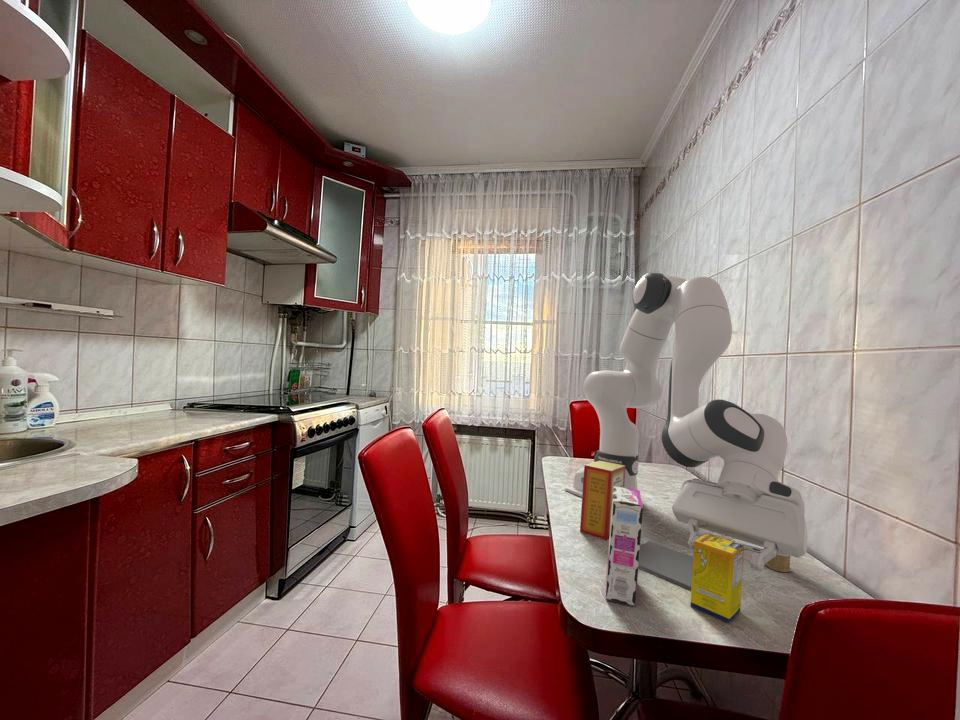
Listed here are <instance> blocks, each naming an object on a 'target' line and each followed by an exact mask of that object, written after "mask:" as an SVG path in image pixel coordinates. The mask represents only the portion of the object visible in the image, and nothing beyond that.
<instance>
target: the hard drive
mask: <svg viewBox="0 0 960 720" xmlns="http://www.w3.org/2000/svg"><path fill="white" fill-rule="evenodd" d="M734 539H735V538H734ZM734 542H736V543H740V544H743V545H744V550H747V549H748V551H753V552H756V553H759V554H760V553H762V552H763V551H764V550H765V549H764V547H761V546H758V545H754V544H751V543H748V542H745V541H741V540H738V539H735V540H734Z"/></svg>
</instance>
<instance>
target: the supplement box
mask: <svg viewBox="0 0 960 720" xmlns="http://www.w3.org/2000/svg"><path fill="white" fill-rule="evenodd" d="M699 537H700V538H698V539H697V540H695V541H694V548H693V556H692V557H693V570H692V587H691V590H690V607H691V608H692V609H694V610H696V611H699V612H702V613H703V614H706V615H708V616H711V617H712V618H715V619H717V620H718V621H722V622H724V623H727V624H730V623H731V622H732V621H734V619H735V618H736V616H738V614H739V613H740V612H741V605H742V604H741V603H742V590H743V589H742V588H743V587H742V586H743V568H744V566H743V565H744V553H745V551H744V550H745V549H744V545H743V544H740V543H736V542H735V541H733V540H730V539H727V538H723V537H720V536H717V535H713V534H710V533H705V534H703V535H702V536H699Z"/></svg>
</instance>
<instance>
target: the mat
mask: <svg viewBox="0 0 960 720" xmlns="http://www.w3.org/2000/svg"><path fill="white" fill-rule="evenodd" d="M638 569H640V570H642V571H645V572H647V573H650V574H652V575H654V576H656V577H659V578H661V579H662V580H663V579H664V580H666V581H668V582H671V583H673V584H675V585H678V586H679V587H682V588H684V589H686V590H689V591H691V587H692V570H693V556H692V555H689V554H686V553H684V552H681V551H678V550H675V549H674V548H673V549H672V548H669V547H667V546H664V545H662V544H658V543H656V542H653V541H651V540H648V541H646V542H644V543H642V544H640V553H639V566H638Z"/></svg>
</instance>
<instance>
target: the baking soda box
mask: <svg viewBox="0 0 960 720" xmlns="http://www.w3.org/2000/svg"><path fill="white" fill-rule="evenodd" d="M583 467H584V480H583V494H582V497H581V511H580V514H581V515H580V527H579V532H580V533H581V534H582V533H583V534H585V535H589V536H592V537H595V538H599V539H601V540H604V541H609V535H610V522H611V510H612V498H613V488H614V486H616V487H623V488H624V483H625V467H626V466H625V465H620V464H615V463H610V462H605V461H597V462H593V461H592V463H591V462H589V463H587V464H585V465H584V466H583Z"/></svg>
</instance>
